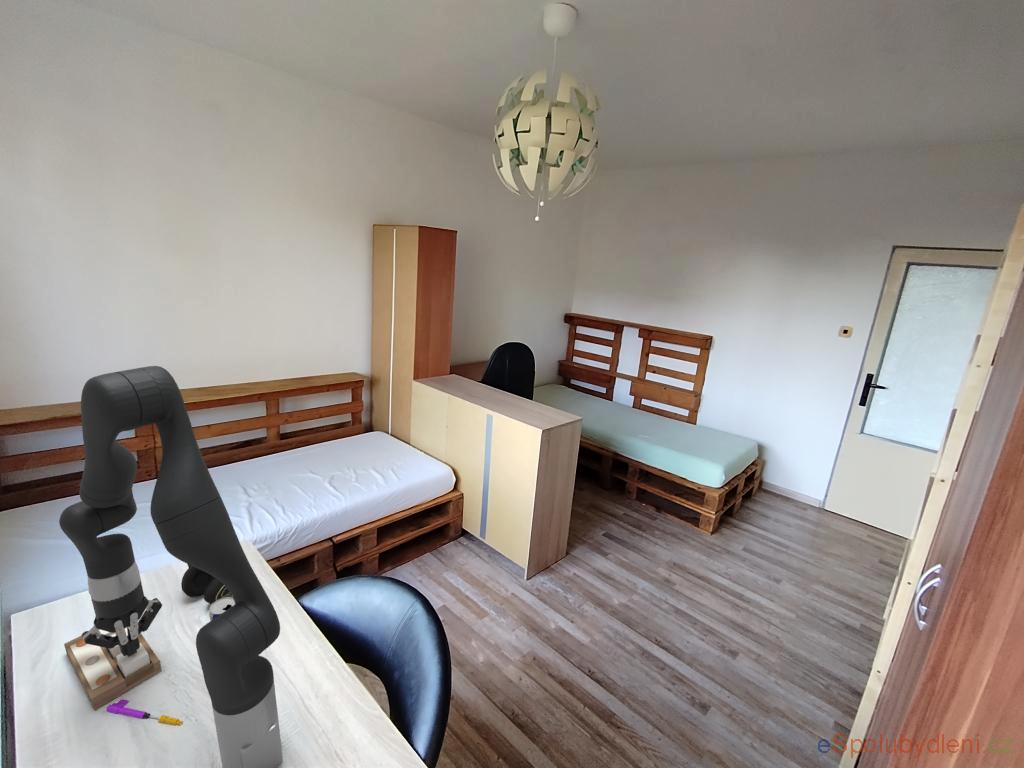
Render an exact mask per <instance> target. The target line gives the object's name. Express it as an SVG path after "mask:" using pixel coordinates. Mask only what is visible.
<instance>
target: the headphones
mask: <svg viewBox="0 0 1024 768" xmlns="http://www.w3.org/2000/svg"><path fill="white" fill-rule="evenodd" d="M186 564H187V563H186ZM187 567H188V568H187V569H186V571H185V572H184V574H183V576H182V577H181V583H180V584H181V585H180V586H181V590H182V592H183V594H185V595H186V596H187V597H190V598H200V597H203V599H204V601H205V602H206V603H208V604H210V605H212V604H213V603H214V602H215V601H217V600H219V599H221V598H225V597H229V596H230V595H231V593H230V592H229V590H228V589H227V587H226V586H225V585H224V584H223V583H222V582H221V581H220V580H218V579H217V578H215V577H214V576H212V575H210V574H208V573H206V572H204V571H202V570H200V569H198V568H195V567H193V566H191V565H189V564H187Z"/></svg>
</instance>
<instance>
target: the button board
mask: <svg viewBox="0 0 1024 768" xmlns="http://www.w3.org/2000/svg"><path fill="white" fill-rule="evenodd" d="M138 640H139V644H140V643H141V644H142V645H143V647H144V648H145V650H146V651H147V653H148V655H149V660H150V664H149V665H147V666H145V667H143V668H142V669H140V670H138V671H136V672H135V673H133V674H131V675H129V676H128V677H126V678H125V677H124V675H123V673H122V672H121V670H120V668H119V666H118V662H117V658H115V659H114V658H113V657H112V655H111V653H110V651H109V650H108V648H105V647H100V646H95V645H90V644H86V643H85V641H84V640H83V638H82V634H81V635H79V636H78V637H75V638H74V639H71V640H70V641H67V642H65V643H64V644H63V646H64V649H65V654H66V656H67V657H68V659H69V661H70V664H71V666H72V667H73V670H74V671H75V672H74V673H76V675H77V678H78V679H79V681H80V684H81V685H82V687H83V690H84V692H85V694H86V696H87V698H88V700H89V702H90V704H91V705H92V708H93V710H94V711H97V710H98V709H100V708H102V707H103V706H105V705H107V704H109V703H111V702H112V701H113V700H116V699H117V698H119V697H121V696H122V695H123V694H125V693H127V692H129V691H132V689H134V688H135V687H138V686H139V685H140V684H142V683H145V682H146V681H147V680H149V679H151V678H152V677H154V676H156V675H157V674H160V673H161V672H162V671H163V670H162V666H161V661H160V659H159V658H158V656H157V654H156V653H155V652H154V650H153V648H152V647H151V646H150V644H149V643H148V641H147V640H146V639H145V637H144V636H143V634H142V632H141V633H140V634H139V635H138Z"/></svg>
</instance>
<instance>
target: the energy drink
mask: <svg viewBox="0 0 1024 768" xmlns="http://www.w3.org/2000/svg"><path fill="white" fill-rule="evenodd" d="M234 605H235V601H234V599H233V597H232V596H227V597H225V598H221V599H219V600H217V601H215V602H214V603H213V604H210V606H209V611H208V616H209V622H210V621H212V620H213V619H215V618H216V617H217V616H219V615H220V614H222V613H223V612H225V611H226V610H228V609H229V608H231V607H232V606H234Z"/></svg>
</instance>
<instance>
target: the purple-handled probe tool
mask: <svg viewBox="0 0 1024 768" xmlns="http://www.w3.org/2000/svg"><path fill="white" fill-rule="evenodd" d="M129 702H130V700H128V699H124V698H123V699H120V700H118V701H117V702H113V703H112V704H109V705H108V706H107V707H106V711H107V712H108V713H113V714H117V715H118V714H120V715H124V716H129V717H130V716H131V717H134V718H138V719H149V718H152V719H157V720H158V721H157V722H158V723H160V724H168V725H173V726H177V725H178V726H180V725H182V724H183V722H184V721H183V720H180V719H179V718H176V717H175V718H174V717H170V716H167V715H164V714H163V715H161V716H160V717H158V716H153V715H151V713H149V712H147V711H142V710H137V709H133V708H129V707H126V706H127V704H128V703H129Z"/></svg>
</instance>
